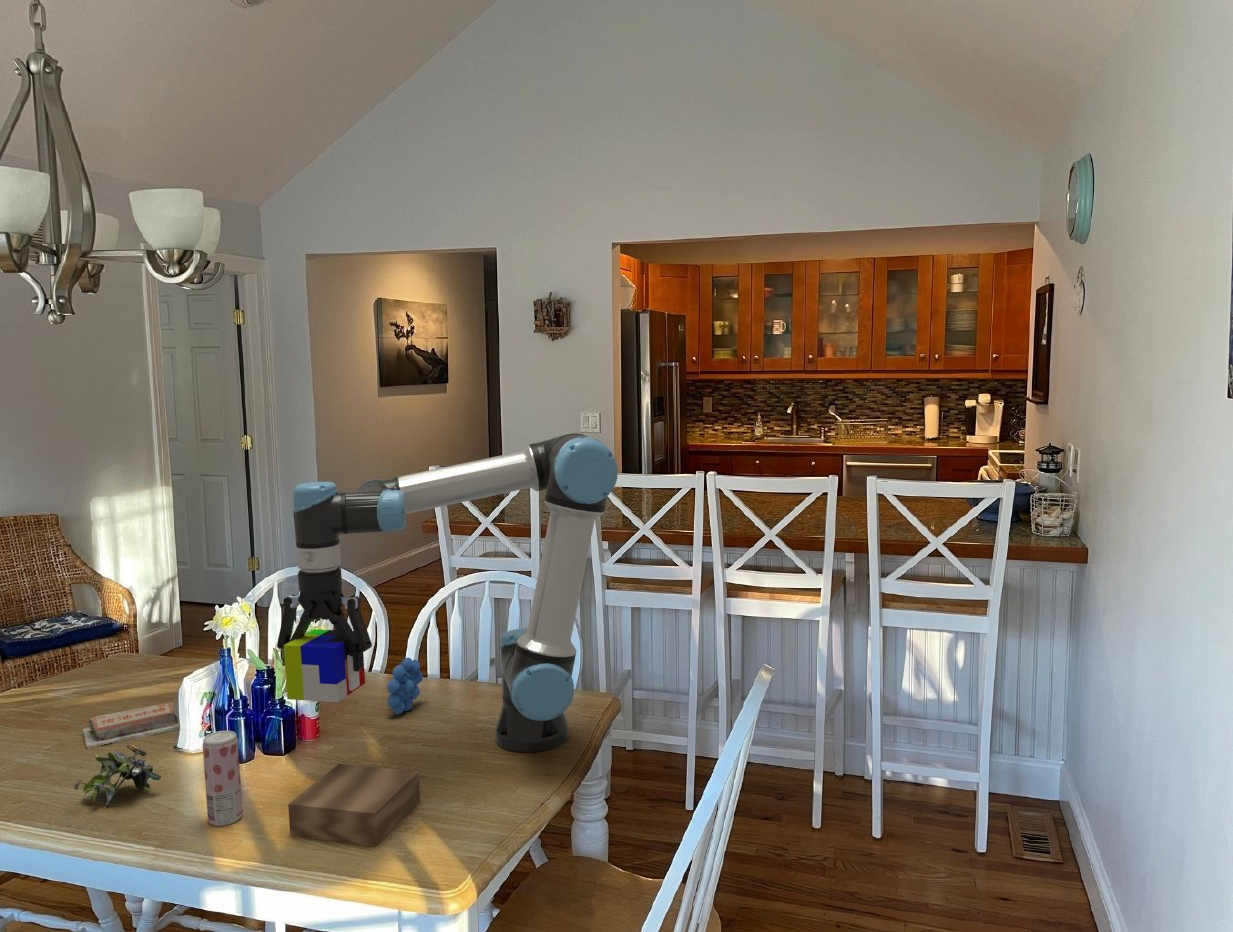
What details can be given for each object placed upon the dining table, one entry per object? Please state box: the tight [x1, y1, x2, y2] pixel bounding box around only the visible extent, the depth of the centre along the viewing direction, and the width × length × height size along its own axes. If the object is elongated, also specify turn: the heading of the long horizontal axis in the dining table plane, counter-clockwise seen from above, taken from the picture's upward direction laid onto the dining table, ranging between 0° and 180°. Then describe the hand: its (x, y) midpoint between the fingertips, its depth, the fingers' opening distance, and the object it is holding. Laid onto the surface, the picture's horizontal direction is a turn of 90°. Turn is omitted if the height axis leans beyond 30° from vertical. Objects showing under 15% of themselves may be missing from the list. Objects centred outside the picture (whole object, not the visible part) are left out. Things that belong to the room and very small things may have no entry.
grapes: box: [386, 657, 424, 715], centre depth 214 cm, size 12×7×12 cm, turn 155°
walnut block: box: [287, 763, 421, 847], centre depth 165 cm, size 16×16×6 cm
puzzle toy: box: [283, 628, 366, 704], centre depth 174 cm, size 10×10×10 cm
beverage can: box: [202, 730, 244, 827], centre depth 165 cm, size 6×6×15 cm
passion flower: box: [74, 744, 162, 808], centre depth 174 cm, size 11×11×12 cm
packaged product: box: [82, 701, 180, 749], centre depth 206 cm, size 18×5×10 cm
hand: (326, 686), depth 174 cm, fingers closed on puzzle toy, 10 cm apart
